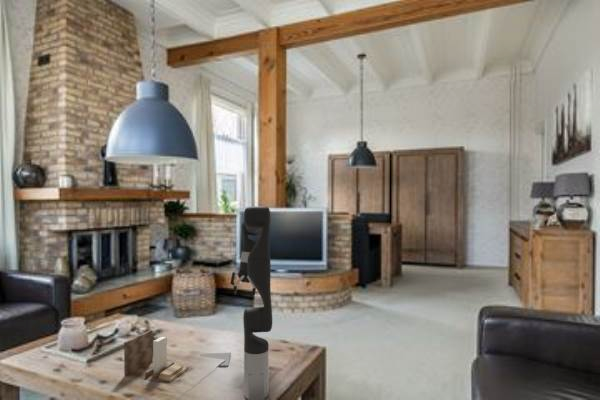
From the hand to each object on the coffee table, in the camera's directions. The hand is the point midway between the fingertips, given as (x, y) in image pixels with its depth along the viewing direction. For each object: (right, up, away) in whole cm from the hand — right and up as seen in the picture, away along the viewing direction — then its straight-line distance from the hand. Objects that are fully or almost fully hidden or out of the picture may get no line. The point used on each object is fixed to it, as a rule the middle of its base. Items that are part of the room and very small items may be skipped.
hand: (243, 295), depth 197 cm
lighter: (-45, -27, -4) cm, 53 cm away
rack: (-32, -28, -26) cm, 49 cm away
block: (-32, -27, -26) cm, 49 cm away
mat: (-12, -27, -12) cm, 32 cm away
